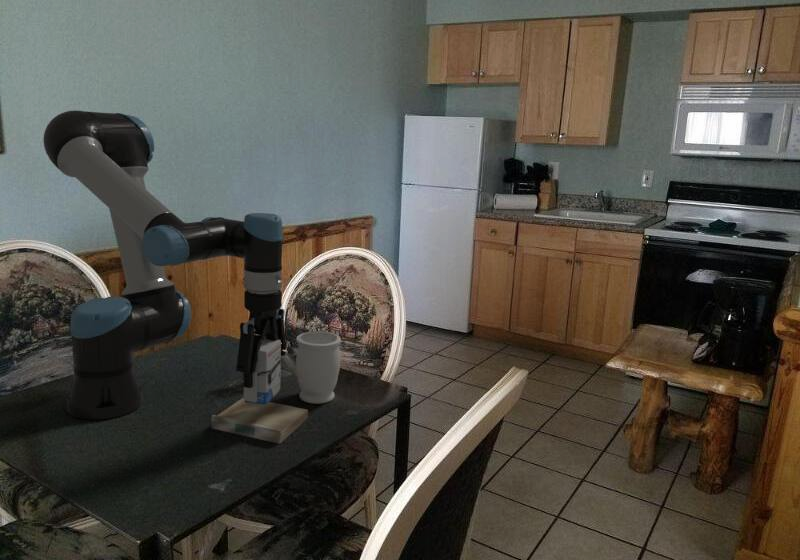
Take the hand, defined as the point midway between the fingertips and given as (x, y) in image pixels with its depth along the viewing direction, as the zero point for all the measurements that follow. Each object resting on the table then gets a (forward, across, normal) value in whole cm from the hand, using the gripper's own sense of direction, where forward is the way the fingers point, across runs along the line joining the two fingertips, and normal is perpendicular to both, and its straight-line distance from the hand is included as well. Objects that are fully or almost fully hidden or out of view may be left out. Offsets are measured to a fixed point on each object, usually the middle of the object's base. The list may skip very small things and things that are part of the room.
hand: (262, 391), depth 128 cm
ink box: (+1, 0, 0) cm, 1 cm away
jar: (+7, +17, -5) cm, 19 cm away
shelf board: (+7, 0, 0) cm, 7 cm away
